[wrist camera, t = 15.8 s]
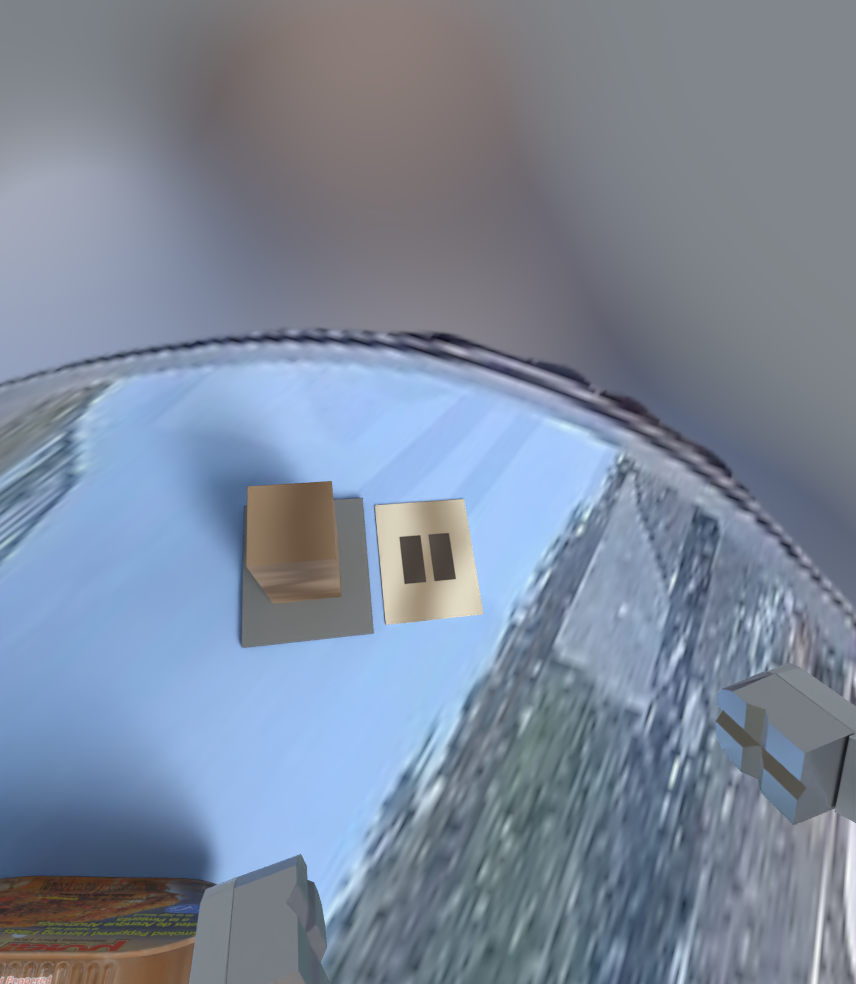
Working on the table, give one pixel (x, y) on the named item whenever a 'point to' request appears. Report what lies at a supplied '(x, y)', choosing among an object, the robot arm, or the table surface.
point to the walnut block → (293, 541)
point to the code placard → (426, 561)
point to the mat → (318, 615)
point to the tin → (98, 929)
